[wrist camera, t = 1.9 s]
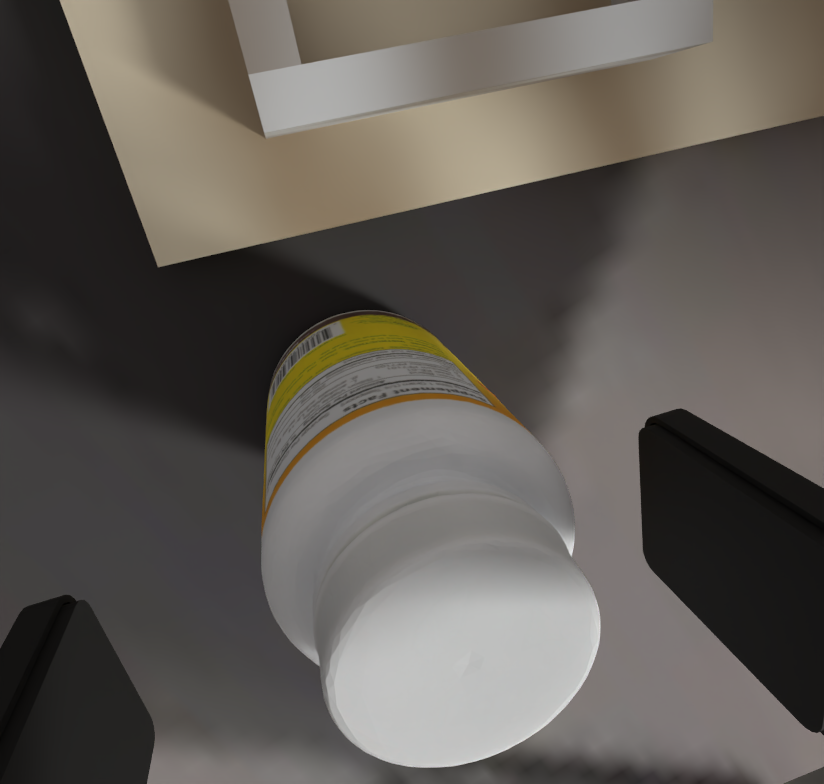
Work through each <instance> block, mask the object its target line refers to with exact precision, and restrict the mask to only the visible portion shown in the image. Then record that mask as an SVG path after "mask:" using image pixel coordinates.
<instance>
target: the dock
mask: <svg viewBox="0 0 824 784" xmlns="http://www.w3.org/2000/svg"><path fill="white" fill-rule="evenodd" d="M60 3H61V5H62V8H63V11H64V13H65V16H66V19H67V21H68V24H69V27H70V30H71V32H72V35H73V38H74V40H75V43H76V46H77V49H78V51H79V54H80V57H81V59H82V62H83V65H84V68H85V70H86V73H87V76H88V78H89V81H90V84H91V87H92V89H93V92H94V95H95V97H96V100H97V103H98V106H99V108H100V111H101V114H102V116H103V119H104V122H105V125H106V127H107V130H108V133H109V135H110V138H111V141H112V144H113V146H114V149H115V152H116V154H117V157H118V160H119V163H120V165H121V168H122V171H123V173H124V176H125V179H126V181H127V184H128V187H129V190H130V192H131V195H132V198H133V200H134V203H135V206H136V209H137V211H138V214H139V217H140V219H141V222H142V225H143V228H144V230H145V233H146V236H147V238H148V241H149V244H150V247H151V249H152V252H153V255H154V257H155V260H156V263H157V266H158V267H161V266H166V265H170V264H175V263H179V262H183V261H188V260H192V259H197V258H201V257H205V256H210V255H214V254H218V253H223V252H227V251H232V250H236V249H240V248H245V247H249V246H254V245H258V244H262V243H267V242H271V241H276V240H280V239H284V238H289V237H293V236H298V235H302V234H306V233H311V232H315V231H320V230H324V229H328V228H333V227H337V226H341V225H346V224H350V223H355V222H359V221H363V220H368V219H372V218H377V217H381V216H385V215H390V214H394V213H399V212H403V211H407V210H412V209H416V208H421V207H425V206H429V205H434V204H438V203H443V202H447V201H451V200H456V199H460V198H465V197H469V196H473V195H478V194H482V193H486V192H491V191H495V190H500V189H504V188H508V187H513V186H517V185H522V184H526V183H530V182H535V181H539V180H544V179H548V178H552V177H557V176H561V175H566V174H570V173H574V172H579V171H583V170H588V169H592V168H596V167H601V166H605V165H609V164H614V163H618V162H623V161H627V160H631V159H636V158H640V157H645V156H649V155H653V154H658V153H662V152H667V151H671V150H675V149H680V148H684V147H689V146H693V145H697V144H702V143H706V142H711V141H715V140H719V139H724V138H728V137H732V136H737V135H741V134H746V133H750V132H754V131H759V130H763V129H768V128H772V127H776V126H781V125H785V124H790V123H794V122H798V121H803V120H807V119H812V118H816V117H820V116H824V0H60Z"/></svg>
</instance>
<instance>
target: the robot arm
mask: <svg viewBox="0 0 824 784" xmlns="http://www.w3.org/2000/svg"><path fill="white" fill-rule="evenodd" d="M639 462H640V488H641V513H642V538H643V553H644V556H645V559H646V561H647V563H648V565H649V567H650V568H651V569H652V571H653V572H654V573H655V574H656V575H657V576H658V577H659V578H660V579H661V580H662V581H663V582H664V583H665V584H666V585H667V586H668V587H669V588H670V589H671V590H672V591H673V592H674V593H675V594H676V595H677V596H678V597H679V599H680V600H681V601H682V602H683V603H684V604H685V605H686V606H687V607H688V608H689V609H690V610H691V611H692V612H693V613H694V614H695V615H696V616H697V617H698V618H699V619H700V620H701V621H702V622H703V623H704V624H705V625H706V626H707V627H708V628H709V629H710V630H711V631H712V632H713V634H714V635H715V636H716V637H717V638H718V639H719V640H720V641H721V642H722V643H723V644H724V645H725V646H726V647H727V648H728V649H729V650H730V651H731V652H732V653H733V654H734V655H735V656H736V657H737V658H738V659H739V660H740V661H741V662H742V663H743V664H744V665H745V666H746V668H747V669H748V670H749V671H750V672H751V673H752V674H753V675H754V676H755V677H756V678H757V679H758V680H759V681H760V682H761V683H762V684H763V685H764V686H765V687H766V688H767V689H768V690H769V691H770V692H771V693H772V694H773V695H774V696H775V697H776V698H777V699H778V700H779V701H780V703H781V704H782V705H783V706H784V707H785V708H786V709H787V710H788V711H789V712H790V713H791V714H792V715H793V716H794V717H795V718H796V719H797V720H798V721H799V722H800V723H801V724H802V725H803V726H804V727H805V728H807V729H808V730H810V731H812V732H816V733H818V732H821V733H822V734H823V735H824V488H822V487H820V486H818V485H817V484H815V483H813V482H811V481H810V480H808V479H806V478H804V477H803V476H801V475H799V474H797V473H796V472H794V471H792V470H790V469H788V468H787V467H785V466H783V465H781V464H780V463H778V462H776V461H774V460H773V459H771V458H769V457H767V456H766V455H764V454H762V453H760V452H759V451H757V450H755V449H753V448H752V447H750V446H748V445H746V444H745V443H743V442H741V441H739V440H738V439H736V438H734V437H732V436H730V435H729V434H727V433H725V432H723V431H722V430H720V429H718V428H716V427H715V426H713V425H711V424H709V423H708V422H706V421H704V420H702V419H701V418H699V417H697V416H695V415H694V414H692V413H690V412H688V411H687V410H684V409H676V410H672V411H669V412H666V413H662V414H659V415H656V416H652V417H650V418H649V419H647V421H646V423H645V428H642V429H641V430H640V432H639ZM154 740H155V732H154V725H153V721H152V719H151V716H150V714H149V713H148V711H147V709H146V707H145V705H144V703H143V702H142V700H141V698H140V696H139V694H138V692H137V691H136V689H135V687H134V685H133V683H132V682H131V680H130V678H129V676H128V674H127V672H126V671H125V669H124V667H123V665H122V663H121V661H120V660H119V658H118V656H117V654H116V652H115V650H114V649H113V647H112V645H111V643H110V641H109V639H108V638H107V636H106V634H105V632H104V630H103V628H102V627H101V625H100V623H99V621H98V619H97V617H96V616H95V614H94V612H93V610H92V608H91V607H90V605H89V604H88V603H87V602H86V601H85V600H80V601H76V600H75V599H74V598H73V597H71V596H70V595H63V596H60V597H56V598H53V599H50V600H47V601H43V602H40V603H37V604H33V605H30V606H27V607H25V608H24V609H23V610H22V611H21V612H20V614H19V615H18V617H17V619H16V621H15V623H14V625H13V626H12V628H11V630H10V632H9V634H8V636H7V637H6V639H5V641H4V643H3V645H2V647H1V648H0V784H147V779H148V774H149V769H150V763H151V758H152V753H153V748H154ZM784 784H824V767H823V768H820V769H818V770H815V771H813V772H810V773H808V774H806V775H803V776H801V777H798V778H796V779H794V780H791V781H789V782H786V783H784Z"/></svg>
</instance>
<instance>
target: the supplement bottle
mask: <svg viewBox="0 0 824 784" xmlns="http://www.w3.org/2000/svg"><path fill="white" fill-rule="evenodd" d="M574 537H575V519H574V511H573V505H572V501H571V496H570V493H569V490H568V487H567V485H566V482H565V479H564V477H563V475H562V473H561V472H560V470H559V468H558V466H557V464H556V463H555V461H554V460H553V458H552V457H551V456H550V454H549V453H548V452H547V451H546V449H545V448H544V447H543V446H542V445H541V443H540V442H539V441H538V440H537V439H536V438H535V437H534V436H533V435H532V434H531V433H530V432H529V431H528V430H527V429H526V428H525V427H524V426H523V425H522V424H521V423H520V422H519V421H518V420H517V419H516V418H515V417H514V416H513V415H512V414H511V413H510V412H509V411H508V410H507V409H506V408H505V406H504V405H503V404H502V403H501V402H500V401H499V400H498V399H497V398H496V396H495V395H494V394H493V393H491V392H490V391H489V390H488V389H487V388H486V387H485V386H484V385H483V384H482V383H481V382H480V381H479V380H478V379H477V378H476V377H475V376H474V375H473V374H472V373H471V372H470V371H469V370H468V369H467V368H466V367H465V366H464V365H463V364H462V363H461V362H460V361H459V360H458V359H457V358H456V357H455V356H454V355H453V354H452V353H451V352H450V351H449V350H448V349H447V347H446V346H445V345H443V344H442V343H441V342H440V341H439V340H438V338H437V337H436V336H435V335H433V334H432V333H431V332H430V331H428V330H427V329H425V328H424V327H422V326H421V325H419V324H417V323H416V322H414V321H412V320H410V319H408V318H406V317H403V316H400V315H398V314H394V313H390V312H385V311H377V310H358V311H352V312H346V313H342V314H339V315H336V316H333V317H330V318H327V319H325V320H323V321H321V322H319V323H317V324H316V325H314V326H313V327H311V328H310V329H308V330H307V331H305V332H304V333H303V334H302V335H300V336H299V337H298V338H297V339H296V340H295V341H294V342H293V343H292V345H291V346H290V347H289V348H288V349H287V351H286V352H285V353H284V355H283V356H282V358H281V360H280V362H279V364H278V365H277V367H276V369H275V371H274V374H273V377H272V380H271V384H270V388H269V394H268V402H267V419H266V441H265V463H264V488H263V509H262V549H261V569H262V578H263V584H264V589H265V594H266V597H267V600H268V603H269V606H270V609H271V611H272V613H273V616H274V618H275V619H276V621H277V623H278V624H279V626H280V627H281V629H282V630H283V632H284V633H285V635H286V636H287V637H288V639H289V640H290V641H291V642H292V643H293V644H294V645H295V646H296V647H297V648H298V649H299V650H300V651H301V652H302V653H303V654H304V655H305V656H307V657H308V658H309V659H311V660H312V661H313V662H314V663H316V664H317V665H319V666H320V674H321V685H322V691H323V696H324V700H325V703H326V706H327V709H328V711H329V713H330V715H331V717H332V719H333V721H334V722H335V724H336V725H337V727H338V728H339V729H340V730H341V732H342V733H343V734H344V735H345V737H346V738H347V739H349V740H350V741H351V742H352V743H353V744H354V745H356V746H357V747H359V748H360V749H362V750H363V751H364V752H366V753H368V754H370V755H372V756H375V757H377V758H379V759H381V760H384V761H387V762H390V763H393V764H398V765H404V766H409V767H448V766H457V765H461V764H466V763H470V762H474V761H478V760H481V759H484V758H487V757H490V756H493V755H495V754H498V753H500V752H502V751H505V750H507V749H509V748H511V747H512V746H514V745H516V744H518V743H520V742H522V741H524V740H525V739H527V738H528V737H530V736H531V735H533V734H534V733H536V732H537V731H539V730H540V729H542V728H543V727H544V726H545V725H547V724H548V723H549V722H550V721H551V720H552V719H553V718H555V717H556V716H557V715H558V714H559V713H560V712H561V711H562V710H563V709H564V708H565V707H566V706H567V704H568V703H569V702H570V701H571V699H572V698H573V697H574V695H575V694H576V693H577V692H578V690H579V689H580V687H581V686H582V684H583V682H584V681H585V679H586V678H587V676H588V673H589V671H590V669H591V666H592V664H593V662H594V659H595V656H596V653H597V649H598V646H599V639H600V613H599V608H598V604H597V601H596V598H595V595H594V592H593V589H592V588H591V586H590V584H589V582H588V580H587V579H586V577H585V576H584V574H583V573H582V571H581V570H580V568H579V567H578V565H577V564H576V562H575V561H574V559H573V558H572V552H573V547H574Z"/></svg>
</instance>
